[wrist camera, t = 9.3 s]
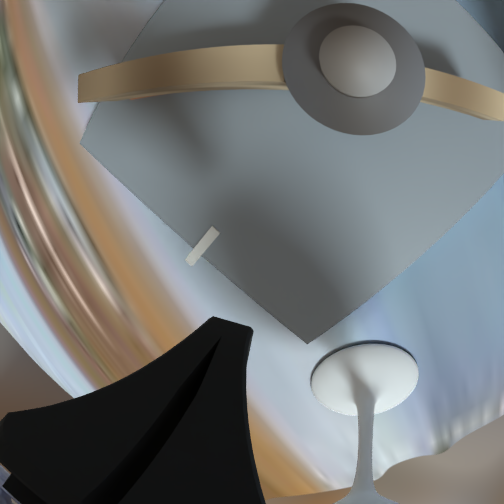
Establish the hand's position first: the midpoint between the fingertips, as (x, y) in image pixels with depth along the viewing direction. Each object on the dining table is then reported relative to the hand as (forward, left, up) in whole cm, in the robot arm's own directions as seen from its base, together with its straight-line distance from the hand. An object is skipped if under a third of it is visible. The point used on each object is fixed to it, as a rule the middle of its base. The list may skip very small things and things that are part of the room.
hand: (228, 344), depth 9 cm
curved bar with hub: (+5, -7, -8) cm, 12 cm away
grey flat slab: (+4, -7, -9) cm, 12 cm away
